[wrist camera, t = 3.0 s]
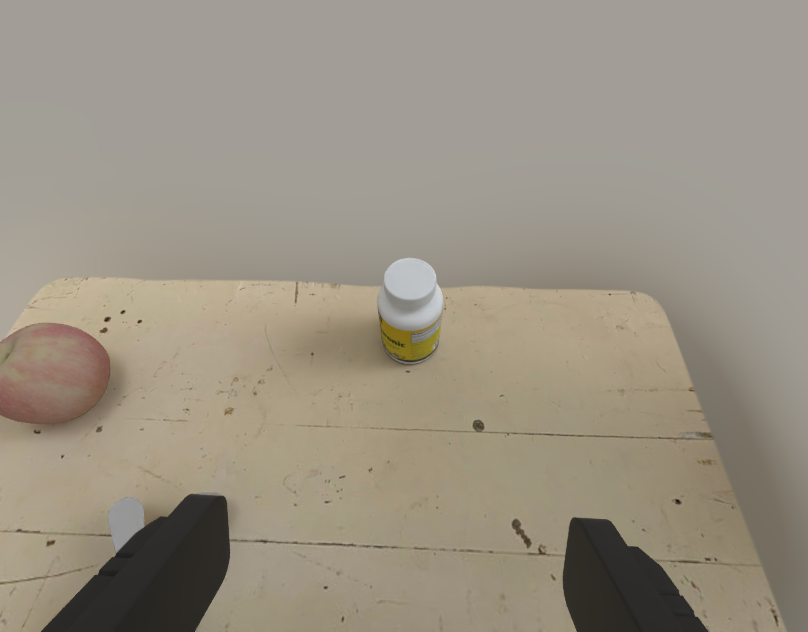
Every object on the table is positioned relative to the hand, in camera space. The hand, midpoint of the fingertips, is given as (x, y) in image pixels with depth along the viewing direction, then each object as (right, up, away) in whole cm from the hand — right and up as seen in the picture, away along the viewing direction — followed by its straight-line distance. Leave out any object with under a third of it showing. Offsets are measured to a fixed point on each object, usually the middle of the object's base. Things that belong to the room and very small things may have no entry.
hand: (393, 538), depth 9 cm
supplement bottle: (+1, +3, +29) cm, 29 cm away
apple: (-28, -2, +26) cm, 39 cm away
